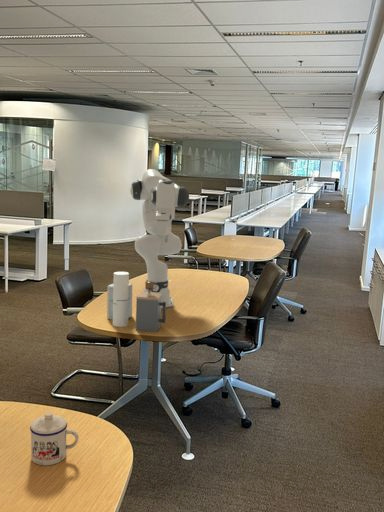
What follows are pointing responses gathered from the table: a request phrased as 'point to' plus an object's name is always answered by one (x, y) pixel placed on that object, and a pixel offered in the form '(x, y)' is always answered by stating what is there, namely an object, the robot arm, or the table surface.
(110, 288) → the supplement box
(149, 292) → the plunger
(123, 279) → the cylindrical container
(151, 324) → the press jug
